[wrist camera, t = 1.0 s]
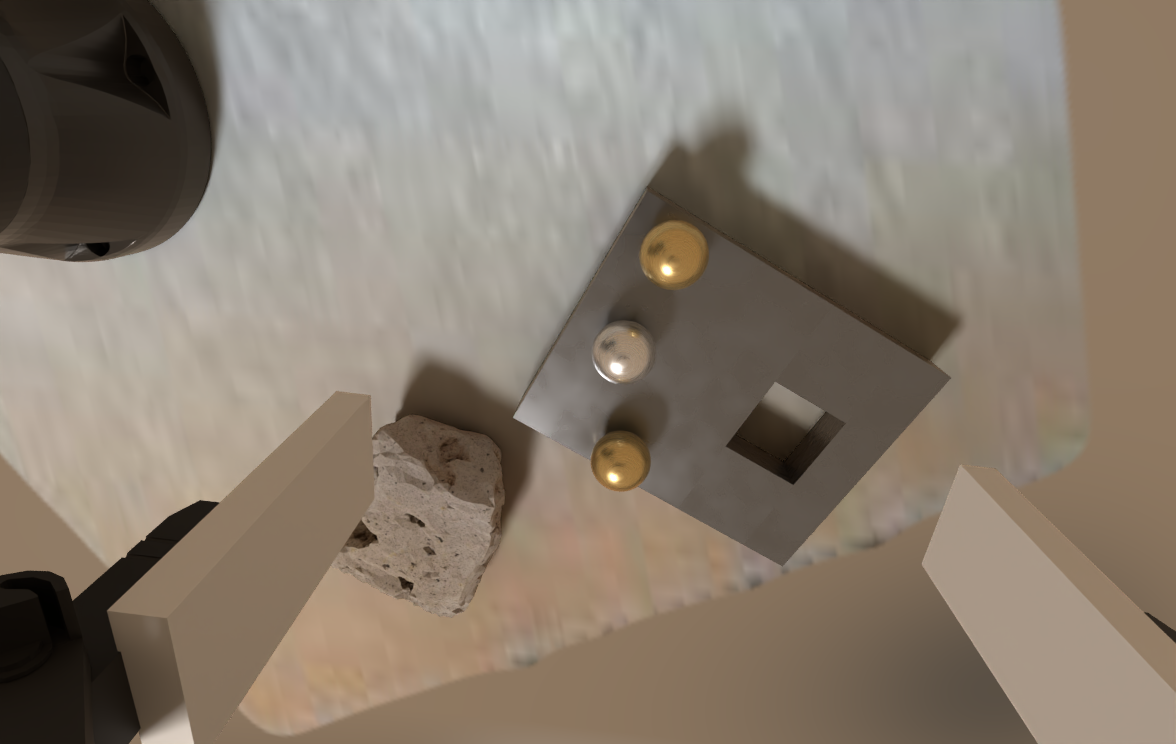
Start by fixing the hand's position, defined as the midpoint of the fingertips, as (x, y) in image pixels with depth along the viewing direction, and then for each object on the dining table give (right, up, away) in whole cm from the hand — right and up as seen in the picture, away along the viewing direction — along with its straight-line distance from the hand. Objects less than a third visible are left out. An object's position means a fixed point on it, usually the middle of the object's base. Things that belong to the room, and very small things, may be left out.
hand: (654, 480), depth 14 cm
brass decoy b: (0, -2, +19) cm, 19 cm away
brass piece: (+3, +8, +15) cm, 17 cm away
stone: (-11, -5, +26) cm, 29 cm away
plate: (+6, +2, +21) cm, 22 cm away
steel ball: (0, +3, +17) cm, 17 cm away
